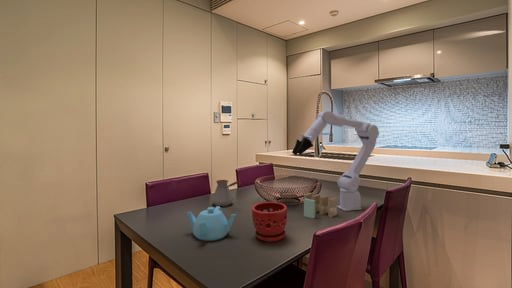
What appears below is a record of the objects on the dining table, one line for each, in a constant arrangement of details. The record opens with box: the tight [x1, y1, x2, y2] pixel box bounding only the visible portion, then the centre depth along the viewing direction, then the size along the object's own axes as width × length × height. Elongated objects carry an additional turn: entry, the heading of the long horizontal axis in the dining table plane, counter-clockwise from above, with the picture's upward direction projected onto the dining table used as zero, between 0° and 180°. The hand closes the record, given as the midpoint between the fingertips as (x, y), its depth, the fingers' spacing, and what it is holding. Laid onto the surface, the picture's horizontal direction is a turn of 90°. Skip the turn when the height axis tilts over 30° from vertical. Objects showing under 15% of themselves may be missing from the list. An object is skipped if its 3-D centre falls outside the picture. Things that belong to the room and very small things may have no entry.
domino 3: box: [319, 195, 329, 216], centre depth 135 cm, size 2×5×8 cm, turn 136°
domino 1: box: [303, 192, 313, 200], centre depth 141 cm, size 2×5×8 cm, turn 136°
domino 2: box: [312, 193, 321, 214], centre depth 138 cm, size 2×5×8 cm, turn 136°
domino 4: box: [327, 196, 338, 218], centre depth 132 cm, size 2×5×8 cm, turn 136°
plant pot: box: [251, 201, 288, 243], centre depth 107 cm, size 13×13×12 cm
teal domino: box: [303, 198, 316, 219], centre depth 130 cm, size 2×5×8 cm, turn 46°
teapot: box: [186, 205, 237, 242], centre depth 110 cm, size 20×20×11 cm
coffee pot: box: [211, 179, 242, 207], centre depth 148 cm, size 21×12×15 cm, turn 39°
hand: (296, 153), depth 132 cm, fingers open, 7 cm apart
